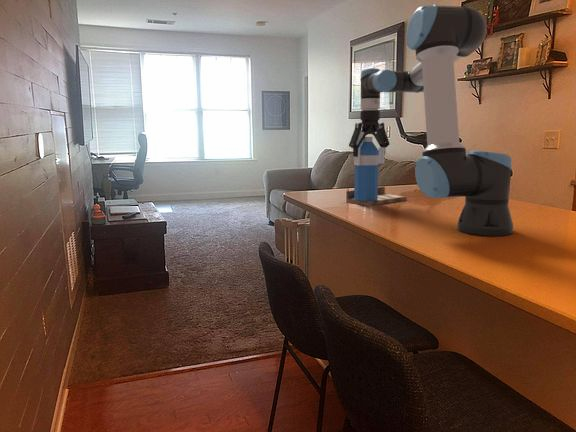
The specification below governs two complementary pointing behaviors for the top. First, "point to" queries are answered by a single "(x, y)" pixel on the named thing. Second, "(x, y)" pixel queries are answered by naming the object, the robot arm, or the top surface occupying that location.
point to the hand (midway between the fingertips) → (369, 164)
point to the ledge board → (382, 199)
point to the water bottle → (367, 172)
